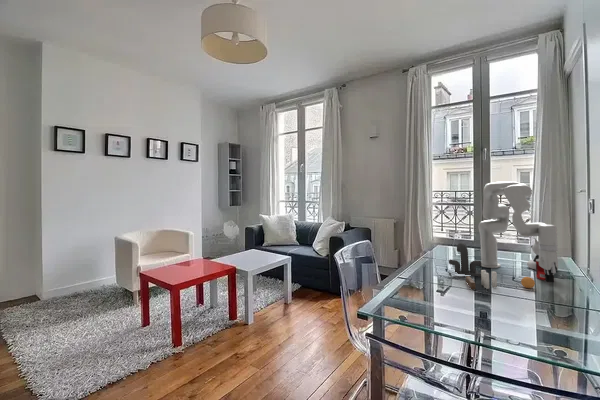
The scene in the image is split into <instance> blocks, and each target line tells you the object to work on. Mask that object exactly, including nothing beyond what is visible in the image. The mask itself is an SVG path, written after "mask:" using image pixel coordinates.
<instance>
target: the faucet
mask: <svg viewBox="0 0 600 400" xmlns="http://www.w3.org/2000/svg"><path fill="white" fill-rule="evenodd" d="M456 252H457V253H459V254H460V262H459V261H458V260H456V259H449V260H448V264H449V265H451V266H454V270H455V272H457V273H458V274H465V275H471V276H478V277H477V278H481V272H479V271H478V270H477V269H476V267H482V266H481V265H482V263H481V260H472V261H470V263H469V250H468V246H467V245H466V243H464V242H463V241H462V242H459V243H457V244H456Z"/></svg>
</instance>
